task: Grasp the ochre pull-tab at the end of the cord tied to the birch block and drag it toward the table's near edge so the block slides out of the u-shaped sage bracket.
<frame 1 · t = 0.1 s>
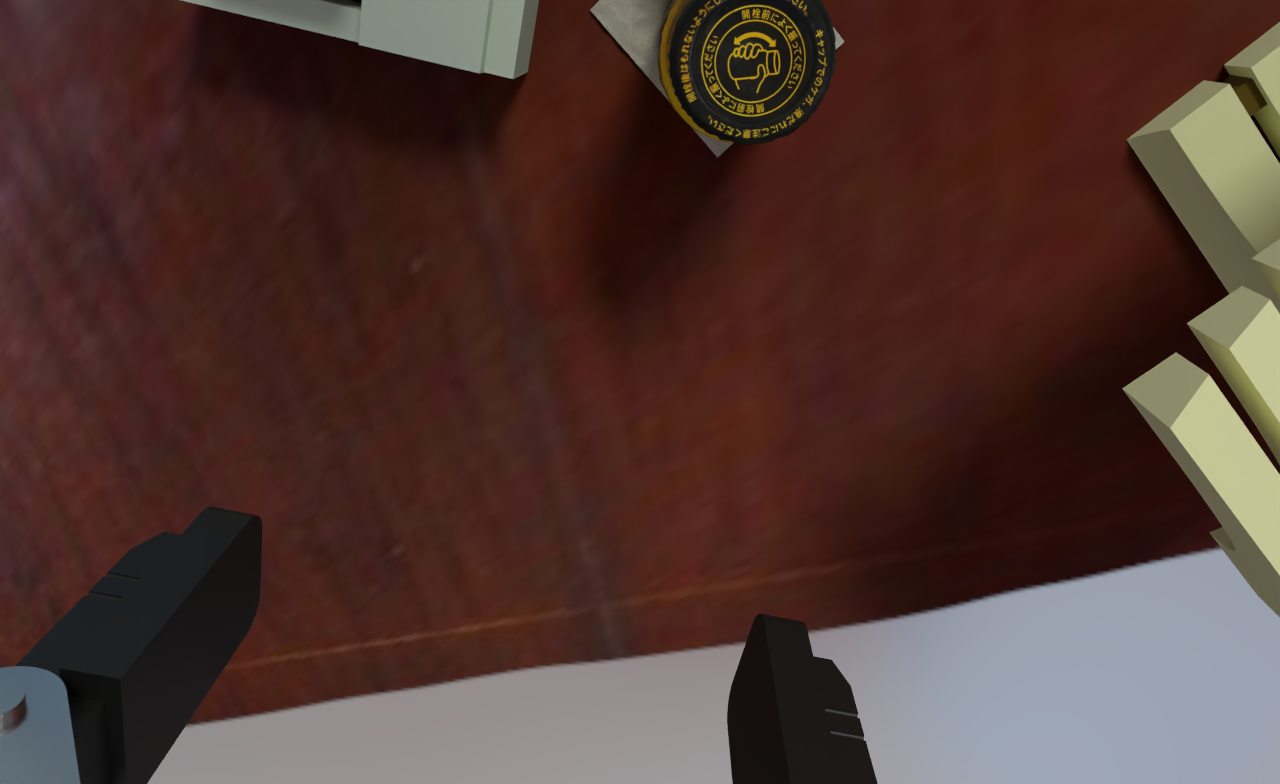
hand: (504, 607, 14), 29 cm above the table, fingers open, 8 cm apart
condiment: (717, 25, 37), on the table
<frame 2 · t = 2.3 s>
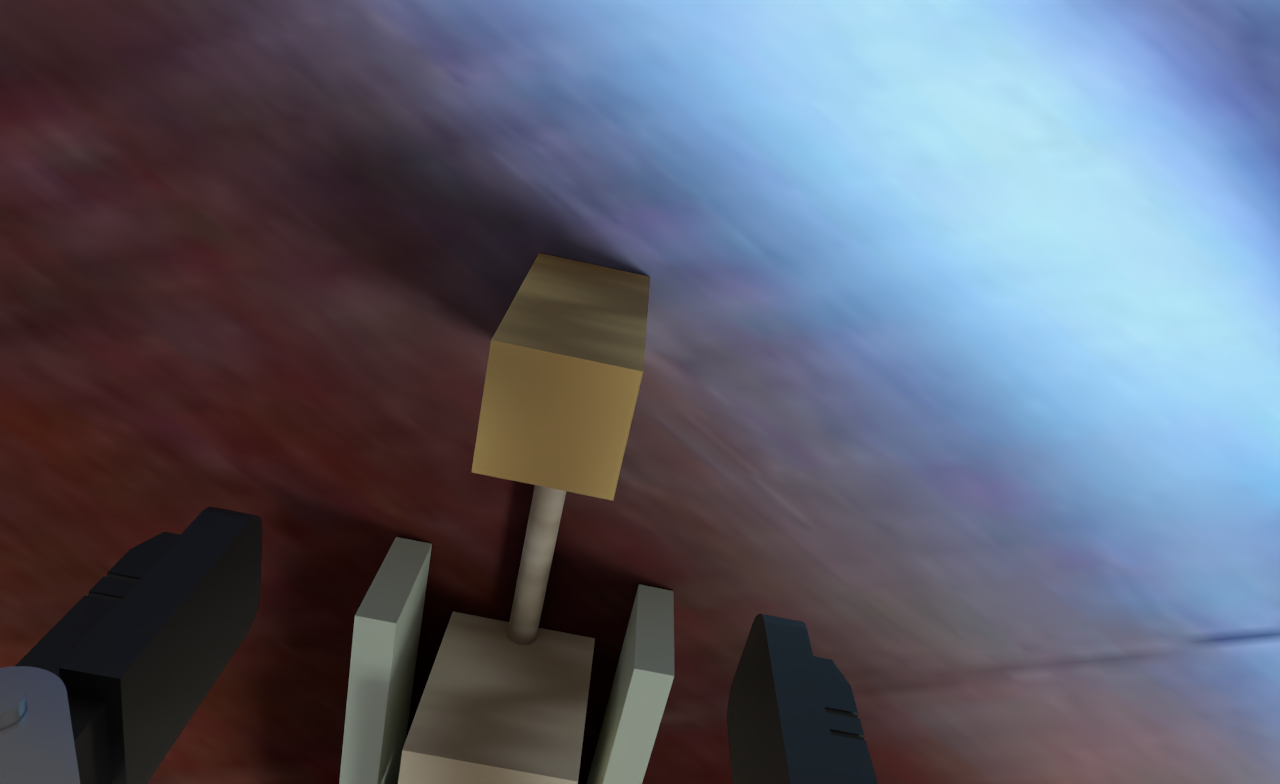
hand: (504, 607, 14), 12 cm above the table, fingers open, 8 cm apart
u-shaped sage bracket: (509, 697, 30), on the table
tethered block: (513, 679, 30), on the table
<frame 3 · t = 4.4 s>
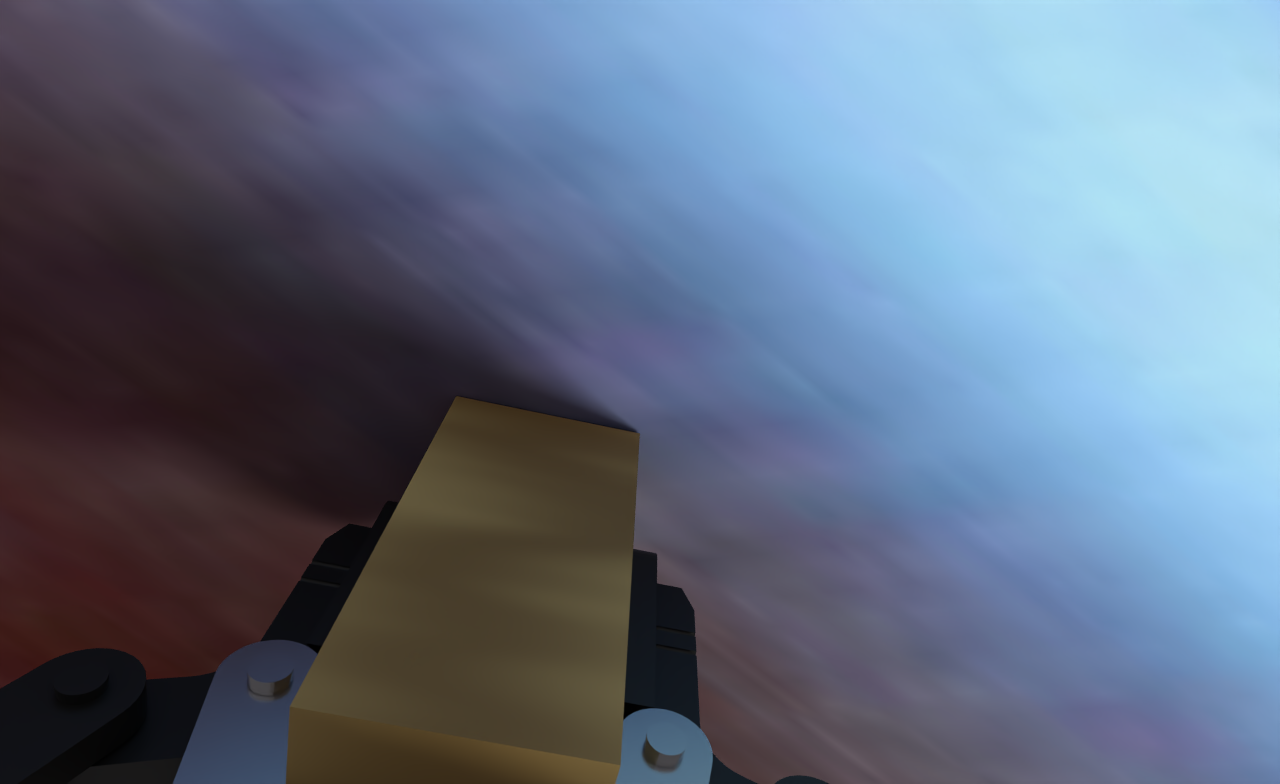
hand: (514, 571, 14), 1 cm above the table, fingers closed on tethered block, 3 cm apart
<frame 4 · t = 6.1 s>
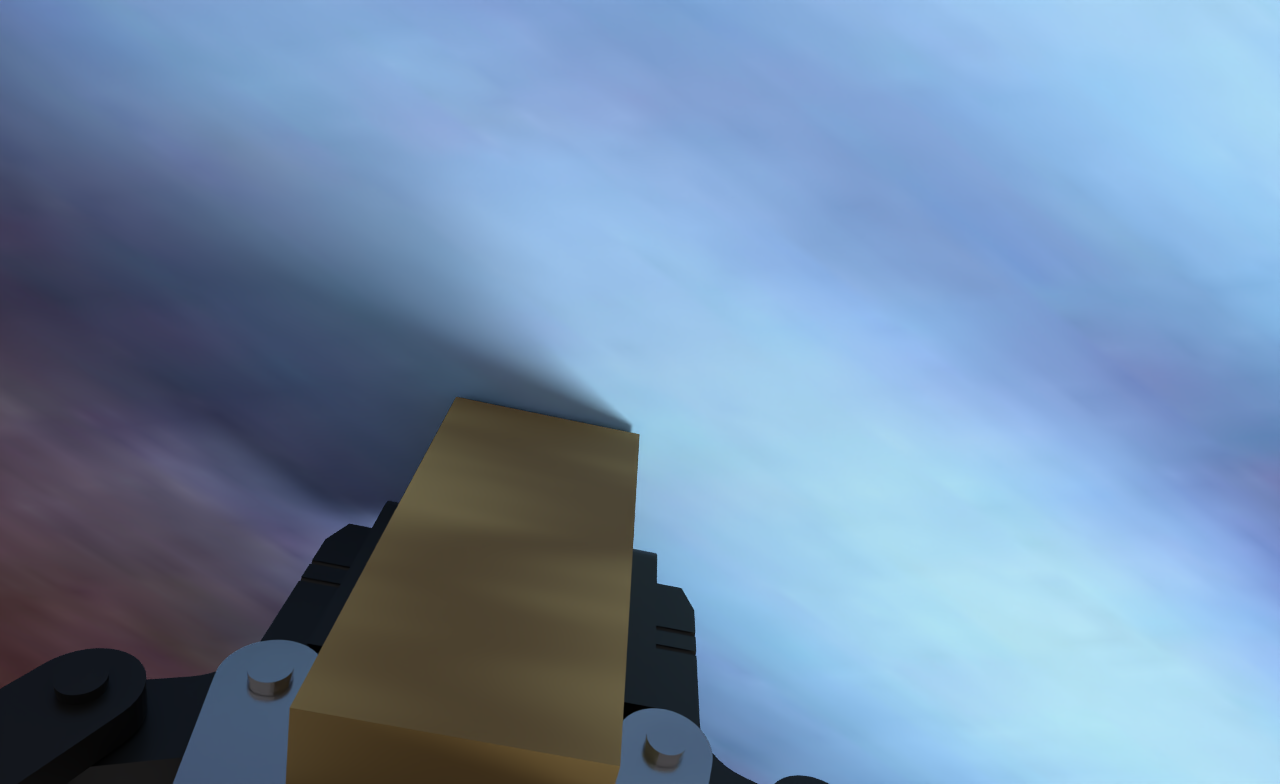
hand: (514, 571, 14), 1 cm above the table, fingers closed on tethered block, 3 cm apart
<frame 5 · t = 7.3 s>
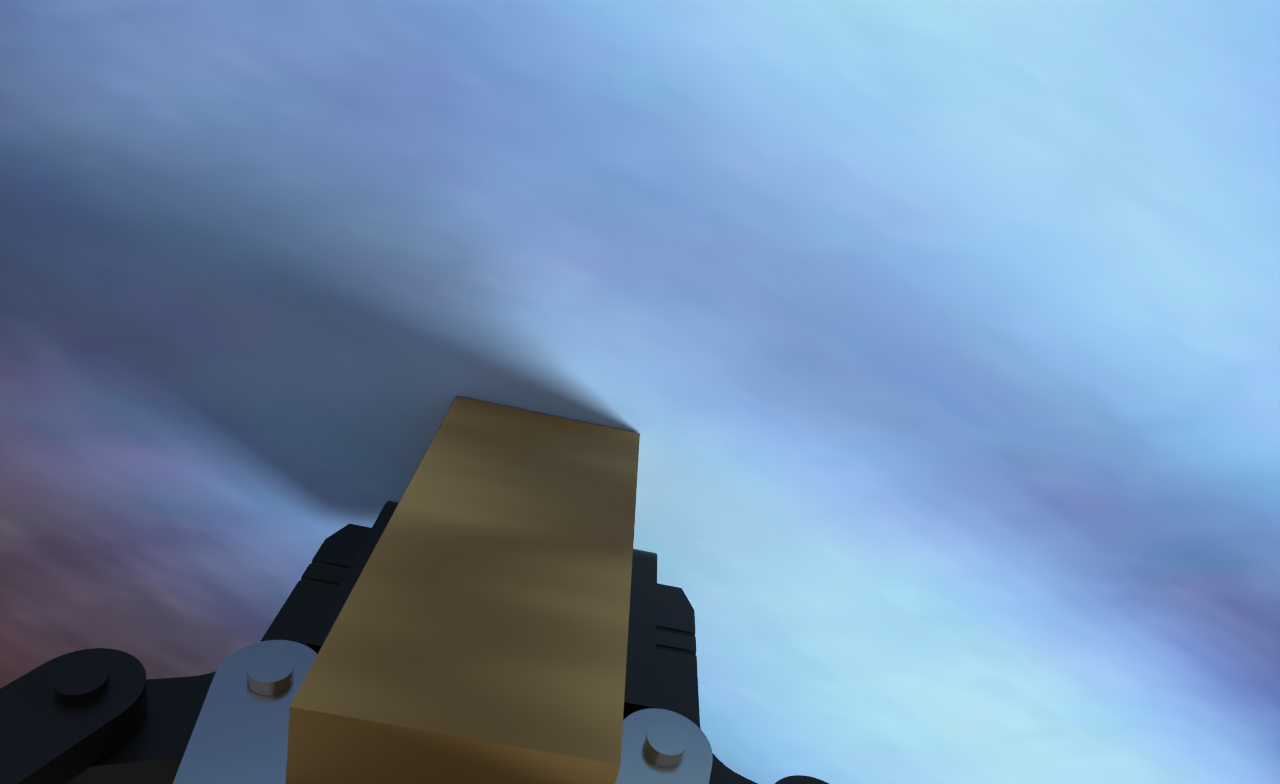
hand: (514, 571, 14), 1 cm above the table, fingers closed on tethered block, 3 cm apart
when the fingers open (1 cm above the table, at t = 7.9 s): tethered block stays where it is, on the table.
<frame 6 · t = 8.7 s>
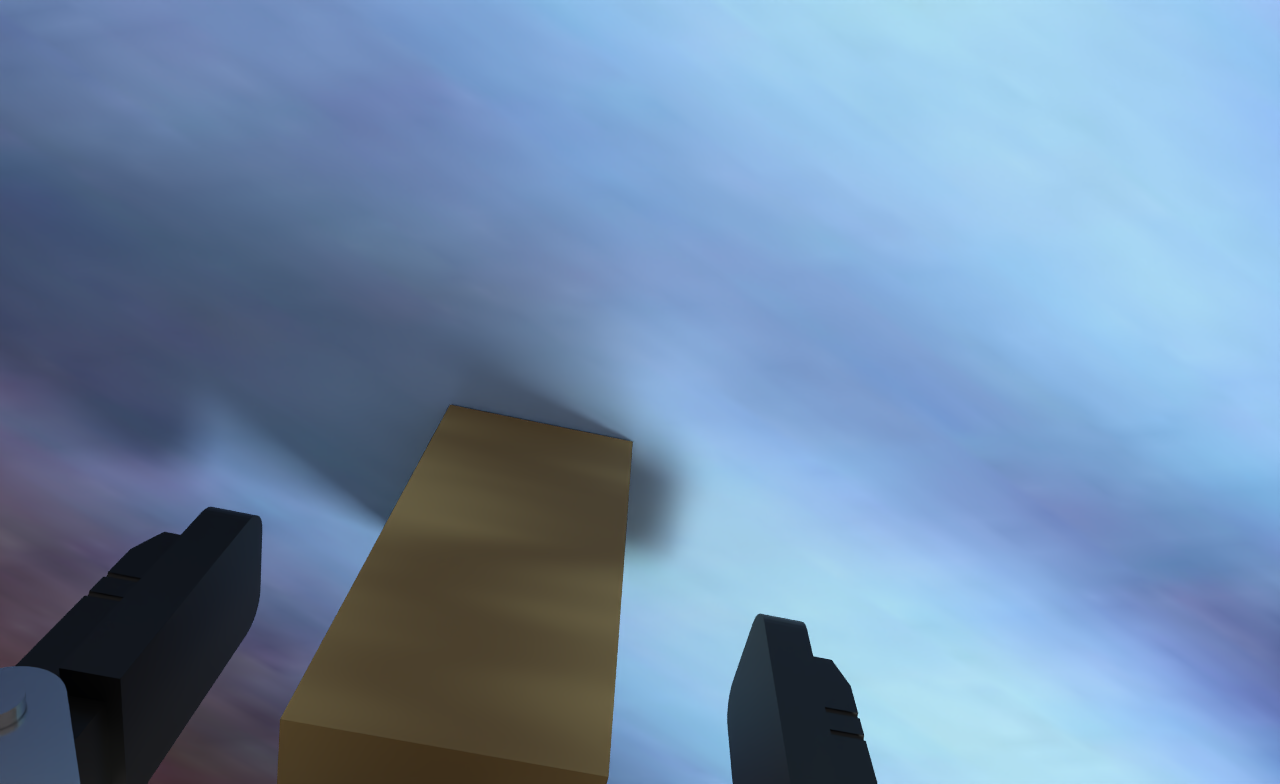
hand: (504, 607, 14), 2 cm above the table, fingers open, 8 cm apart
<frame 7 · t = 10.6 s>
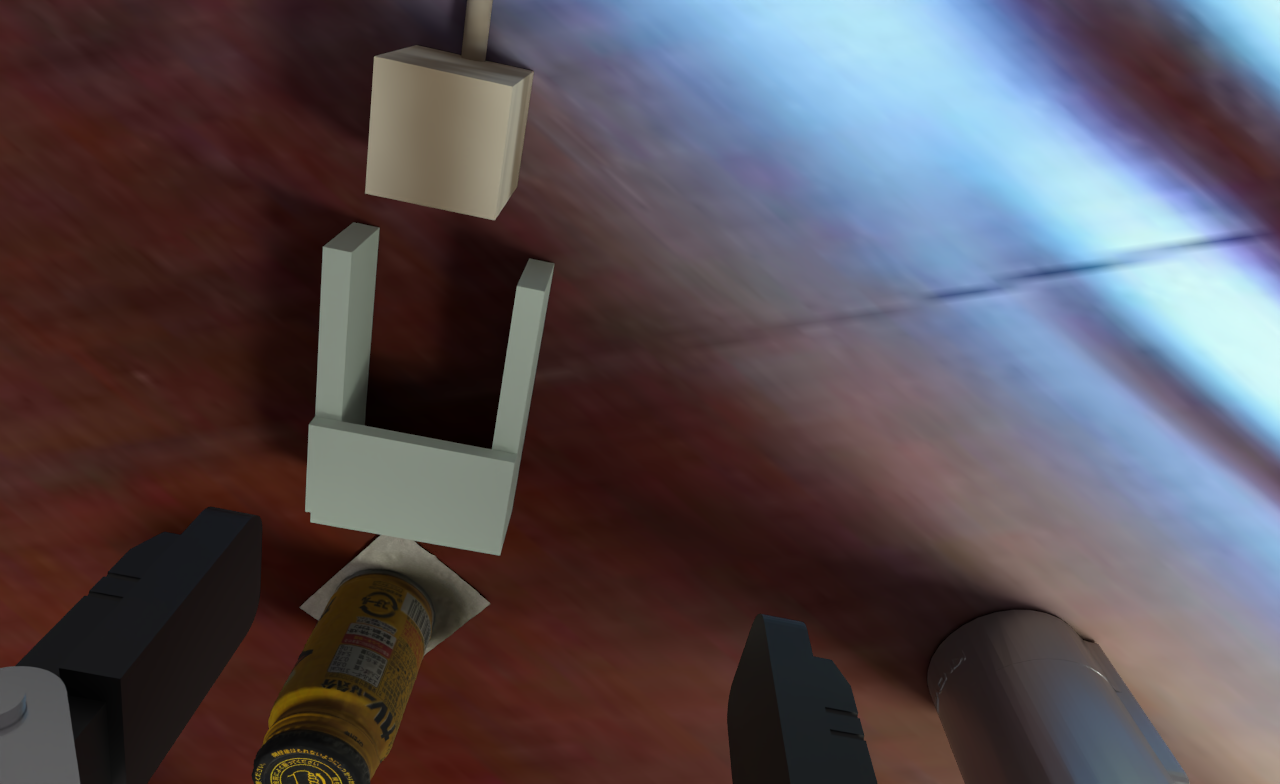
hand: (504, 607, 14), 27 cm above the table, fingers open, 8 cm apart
u-shaped sage bracket: (441, 358, 42), on the table
condiment: (396, 600, 49), on the table
tethered block: (468, 118, 37), on the table
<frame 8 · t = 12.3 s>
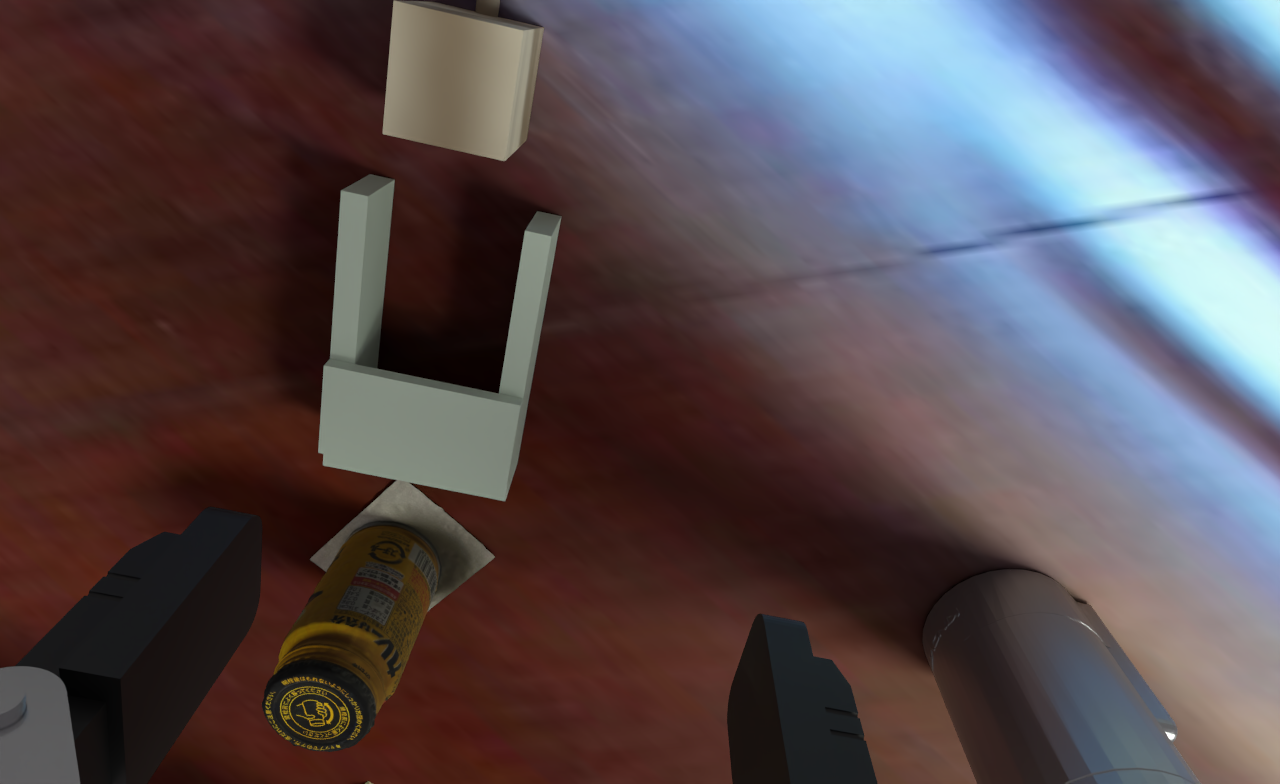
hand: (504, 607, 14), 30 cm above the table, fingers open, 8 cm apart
u-shaped sage bracket: (451, 309, 43), on the table
condiment: (404, 553, 50), on the table
tethered block: (481, 73, 39), on the table
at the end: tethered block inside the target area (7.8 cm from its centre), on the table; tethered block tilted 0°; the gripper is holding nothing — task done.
